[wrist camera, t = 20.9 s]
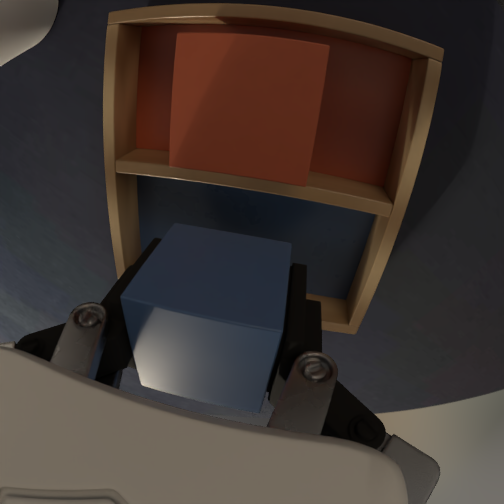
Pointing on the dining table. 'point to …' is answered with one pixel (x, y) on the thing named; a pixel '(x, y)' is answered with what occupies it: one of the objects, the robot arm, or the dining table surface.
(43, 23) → the mug
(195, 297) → the blue block
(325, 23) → the tray
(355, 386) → the dining table surface
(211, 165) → the terracotta block
